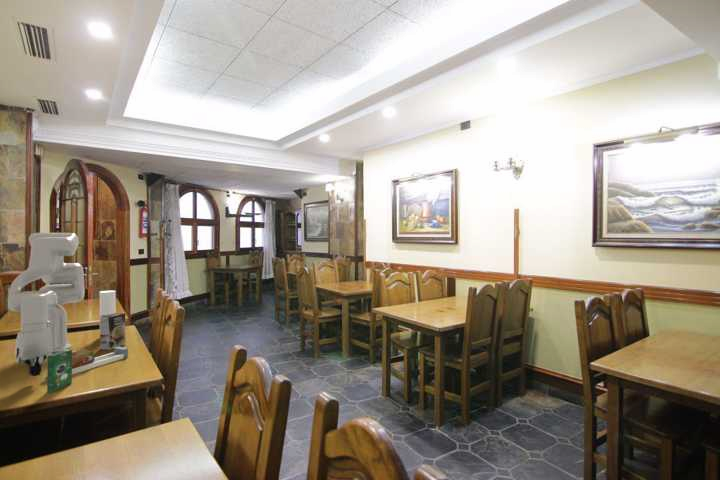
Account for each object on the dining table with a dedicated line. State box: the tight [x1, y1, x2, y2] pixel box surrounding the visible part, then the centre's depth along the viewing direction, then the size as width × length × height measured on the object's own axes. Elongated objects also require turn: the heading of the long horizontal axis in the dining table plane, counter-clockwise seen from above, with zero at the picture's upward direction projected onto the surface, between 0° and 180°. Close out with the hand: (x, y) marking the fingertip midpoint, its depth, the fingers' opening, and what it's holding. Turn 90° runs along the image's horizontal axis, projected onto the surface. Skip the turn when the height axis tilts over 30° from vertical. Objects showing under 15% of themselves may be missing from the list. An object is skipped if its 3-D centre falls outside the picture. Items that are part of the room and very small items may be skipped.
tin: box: [72, 348, 96, 369], centre depth 149 cm, size 15×3×8 cm, turn 148°
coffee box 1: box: [46, 348, 73, 393], centre depth 133 cm, size 8×3×13 cm, turn 178°
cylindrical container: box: [99, 290, 117, 318], centre depth 198 cm, size 7×7×25 cm
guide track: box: [72, 346, 129, 375], centre depth 155 cm, size 7×28×4 cm, turn 157°
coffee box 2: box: [99, 312, 126, 351], centre depth 181 cm, size 9×6×16 cm
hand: (35, 375), depth 137 cm, fingers closed
